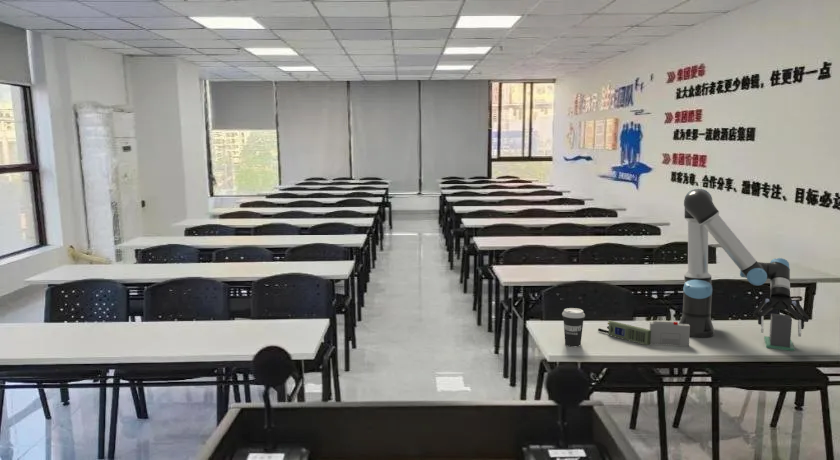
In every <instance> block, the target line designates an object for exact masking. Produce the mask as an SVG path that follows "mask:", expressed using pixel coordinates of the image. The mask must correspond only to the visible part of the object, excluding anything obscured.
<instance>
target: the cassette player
mask: <svg viewBox="0 0 840 460" xmlns="http://www.w3.org/2000/svg"><path fill="white" fill-rule="evenodd" d="M649 330H651V340H650V345H662V346H676V347H677V346H678V347H690V337H691V336H690V325H689V324H679V322H678V321H667V320H653V322H652V321H651V322H650V321H649Z"/></svg>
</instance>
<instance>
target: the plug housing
mask: <svg viewBox="0 0 840 460" xmlns="http://www.w3.org/2000/svg"><path fill="white" fill-rule="evenodd" d="M792 323H793V319H792V317H791V315H790V314H782V313H781V314H780V313H770V324H769V325H770V326H769V336H768V337H769V342H770V345H773V346H782V347H790V339H791V340H792V338H791V336H792Z"/></svg>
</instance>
